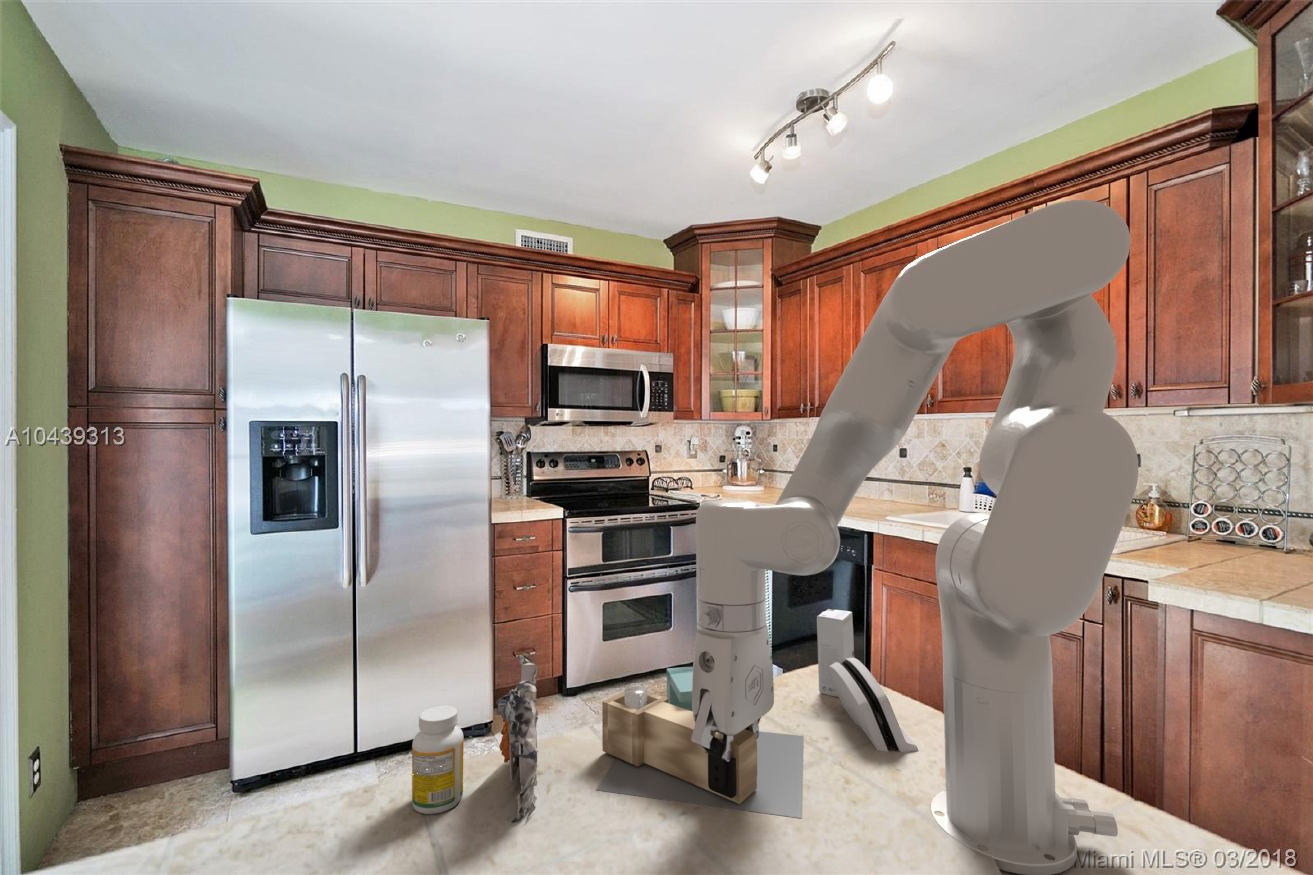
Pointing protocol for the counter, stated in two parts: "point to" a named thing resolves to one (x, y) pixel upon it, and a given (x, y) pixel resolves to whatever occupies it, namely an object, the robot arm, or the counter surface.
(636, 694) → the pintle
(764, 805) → the plate
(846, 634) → the skincare box
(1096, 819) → the robot arm
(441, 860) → the counter surface
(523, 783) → the meal
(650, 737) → the wooden block with hole
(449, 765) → the supplement bottle
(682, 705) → the bracket
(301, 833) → the counter surface
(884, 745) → the white slotted curved device
